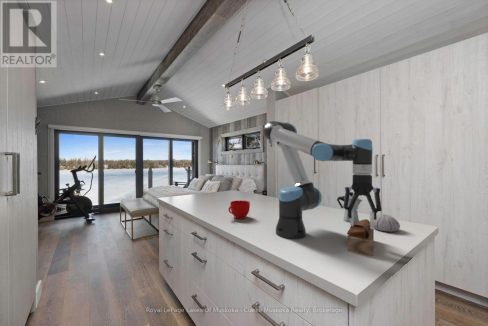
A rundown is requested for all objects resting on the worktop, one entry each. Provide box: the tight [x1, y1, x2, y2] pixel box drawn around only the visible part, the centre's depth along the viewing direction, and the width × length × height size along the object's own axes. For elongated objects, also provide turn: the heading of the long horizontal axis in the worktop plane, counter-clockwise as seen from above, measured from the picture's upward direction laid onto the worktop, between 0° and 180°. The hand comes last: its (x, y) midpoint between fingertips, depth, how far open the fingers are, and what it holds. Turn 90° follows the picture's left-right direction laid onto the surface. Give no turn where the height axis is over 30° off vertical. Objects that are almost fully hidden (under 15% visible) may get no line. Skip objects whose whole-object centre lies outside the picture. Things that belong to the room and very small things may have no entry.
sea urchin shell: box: [373, 214, 401, 233], centre depth 114 cm, size 13×14×8 cm
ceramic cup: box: [227, 200, 251, 220], centre depth 136 cm, size 13×17×10 cm
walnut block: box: [347, 227, 375, 257], centre depth 93 cm, size 9×19×6 cm, turn 147°
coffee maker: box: [336, 191, 363, 223], centre depth 131 cm, size 15×9×18 cm, turn 48°
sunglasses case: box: [346, 219, 371, 239], centre depth 94 cm, size 18×7×7 cm
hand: (361, 225), depth 92 cm, fingers closed on sunglasses case, 7 cm apart
